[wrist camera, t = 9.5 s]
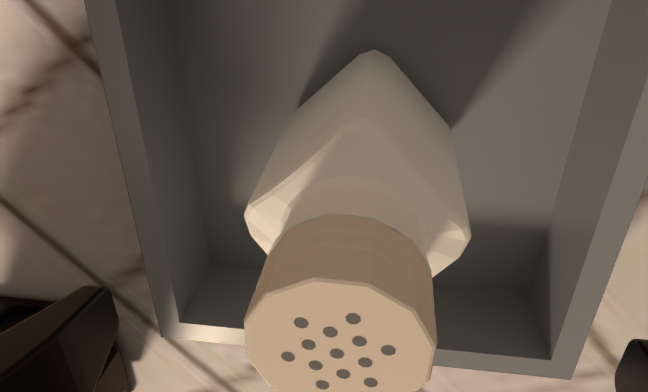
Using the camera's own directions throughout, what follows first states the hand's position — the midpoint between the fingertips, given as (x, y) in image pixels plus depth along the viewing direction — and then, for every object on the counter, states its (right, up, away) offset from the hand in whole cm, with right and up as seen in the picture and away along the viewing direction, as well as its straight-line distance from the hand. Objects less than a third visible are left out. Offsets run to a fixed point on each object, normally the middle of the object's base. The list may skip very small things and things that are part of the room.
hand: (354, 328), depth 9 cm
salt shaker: (+1, +5, +8) cm, 9 cm away
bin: (+1, +5, +8) cm, 10 cm away
